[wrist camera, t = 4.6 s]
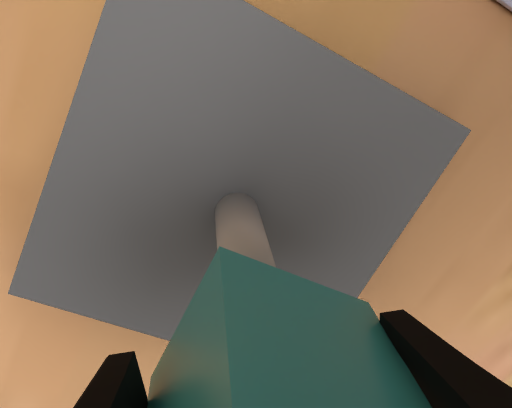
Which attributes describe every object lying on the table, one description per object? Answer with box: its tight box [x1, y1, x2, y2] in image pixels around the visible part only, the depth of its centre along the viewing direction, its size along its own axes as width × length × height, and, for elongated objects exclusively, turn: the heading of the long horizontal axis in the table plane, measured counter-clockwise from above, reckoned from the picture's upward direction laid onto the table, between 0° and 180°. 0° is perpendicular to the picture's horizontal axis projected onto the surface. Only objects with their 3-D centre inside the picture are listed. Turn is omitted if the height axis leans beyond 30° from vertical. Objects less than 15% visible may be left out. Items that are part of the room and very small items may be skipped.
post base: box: [8, 0, 471, 341], centre depth 16 cm, size 16×16×7 cm
